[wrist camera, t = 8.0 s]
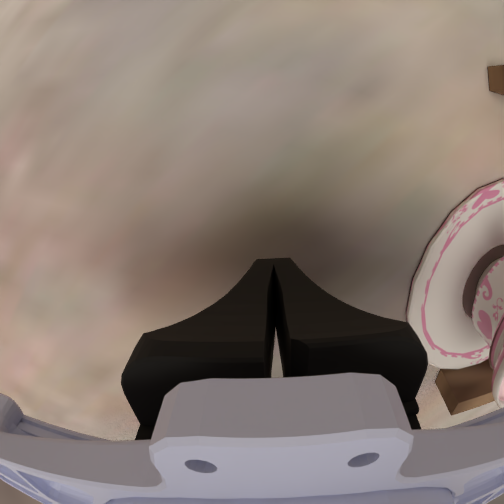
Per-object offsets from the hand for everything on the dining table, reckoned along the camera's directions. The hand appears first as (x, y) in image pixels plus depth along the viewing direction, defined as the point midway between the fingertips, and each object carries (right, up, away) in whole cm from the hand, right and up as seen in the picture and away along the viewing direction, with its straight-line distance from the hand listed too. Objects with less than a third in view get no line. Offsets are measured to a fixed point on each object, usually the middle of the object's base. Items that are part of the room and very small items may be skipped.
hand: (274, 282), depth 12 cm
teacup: (+13, -1, +2) cm, 13 cm away
